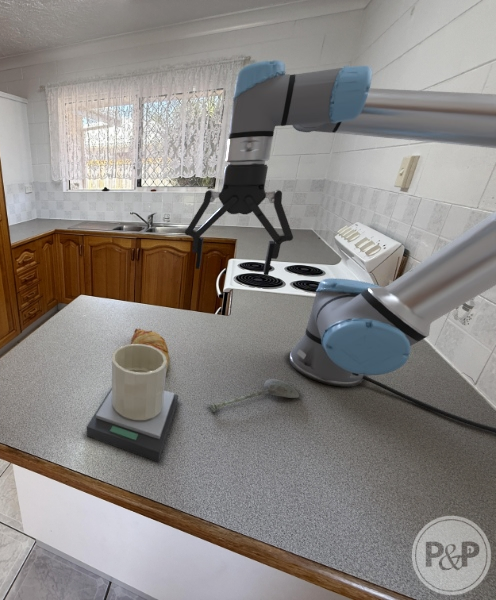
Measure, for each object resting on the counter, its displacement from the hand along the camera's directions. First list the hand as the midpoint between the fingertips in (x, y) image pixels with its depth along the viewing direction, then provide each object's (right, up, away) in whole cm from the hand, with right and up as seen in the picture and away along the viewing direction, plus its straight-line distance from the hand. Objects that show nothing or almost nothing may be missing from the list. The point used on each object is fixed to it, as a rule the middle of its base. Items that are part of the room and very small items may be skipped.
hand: (230, 270), depth 68 cm
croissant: (-15, -22, +17) cm, 32 cm away
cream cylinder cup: (-21, -28, -4) cm, 35 cm away
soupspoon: (+5, -29, +1) cm, 29 cm away
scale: (-21, -31, -4) cm, 38 cm away
